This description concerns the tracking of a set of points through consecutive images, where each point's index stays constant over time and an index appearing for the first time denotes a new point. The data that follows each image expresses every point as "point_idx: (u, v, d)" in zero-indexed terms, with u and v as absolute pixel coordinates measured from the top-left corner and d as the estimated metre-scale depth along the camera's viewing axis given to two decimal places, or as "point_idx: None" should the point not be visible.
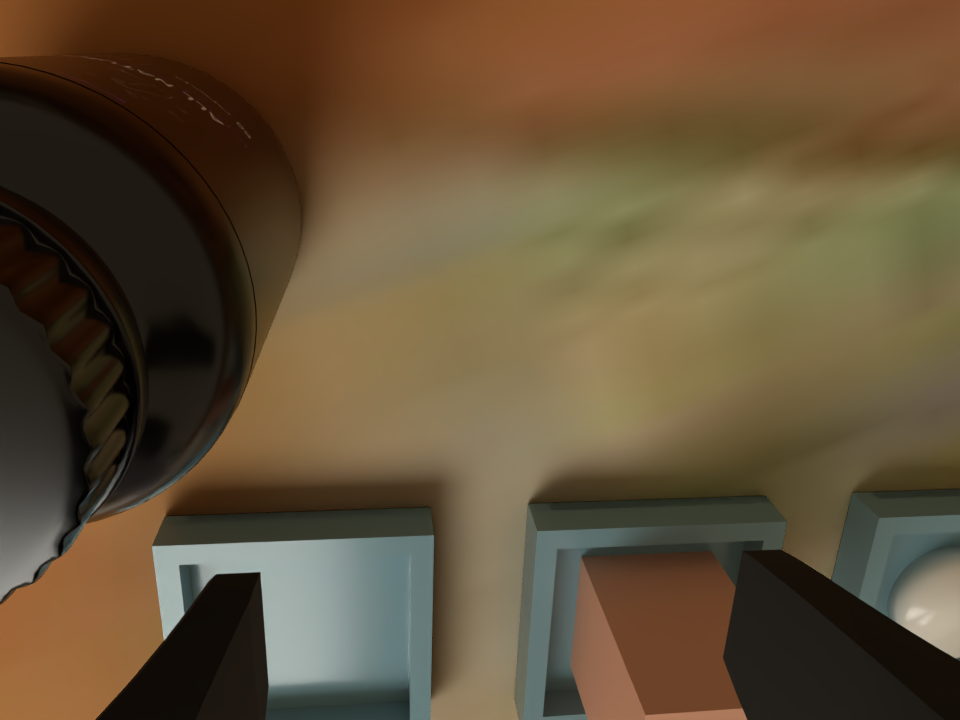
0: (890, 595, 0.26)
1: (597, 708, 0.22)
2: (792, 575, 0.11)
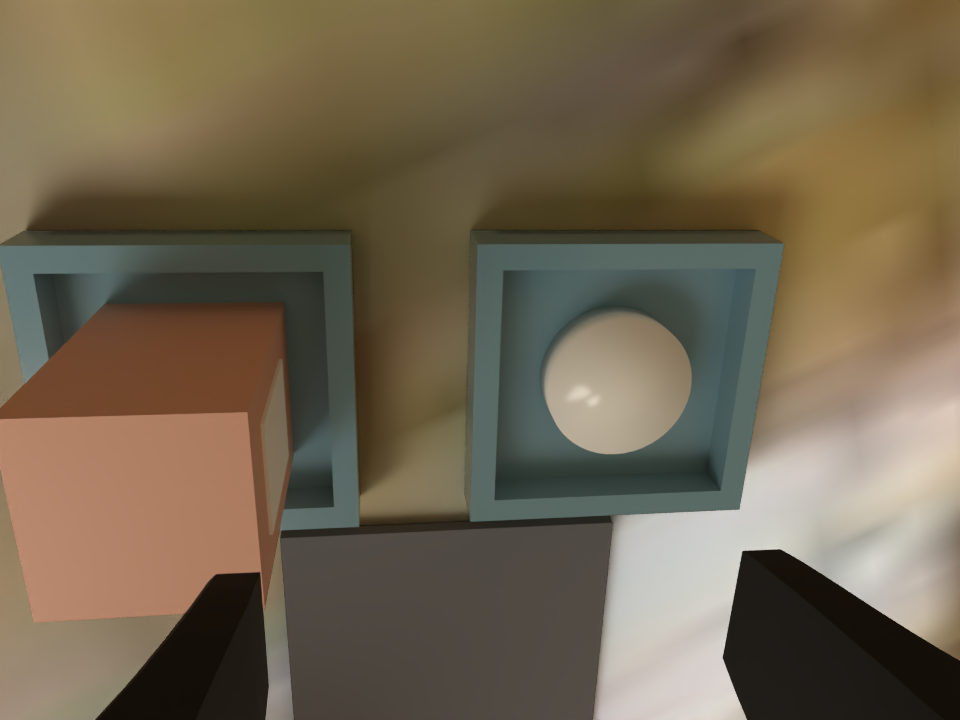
0: (540, 375, 0.20)
1: None
2: (792, 575, 0.11)
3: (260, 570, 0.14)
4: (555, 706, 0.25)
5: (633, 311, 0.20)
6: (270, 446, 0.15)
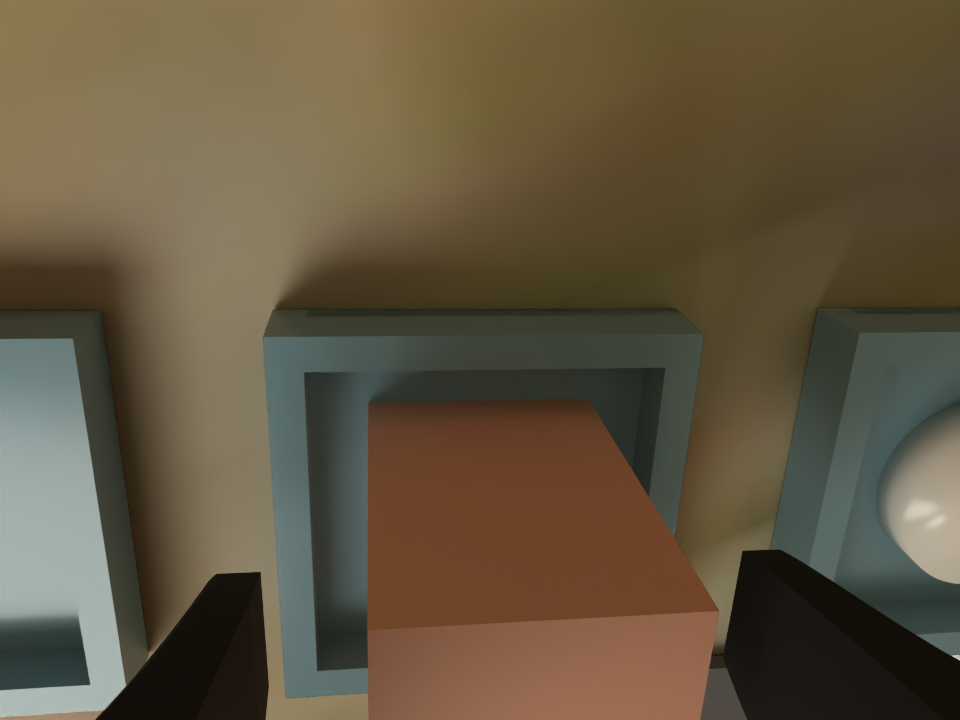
0: (879, 487, 0.16)
1: None
2: (792, 575, 0.11)
3: None
4: None
5: None
6: None
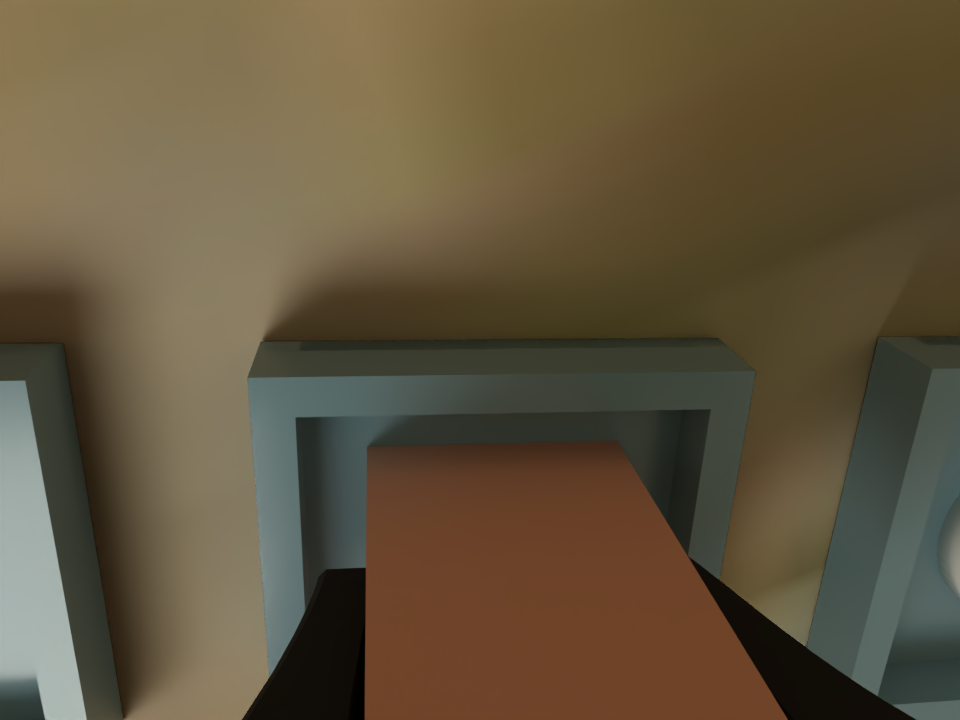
0: (941, 539, 0.15)
1: None
2: None
3: None
4: None
5: None
6: None
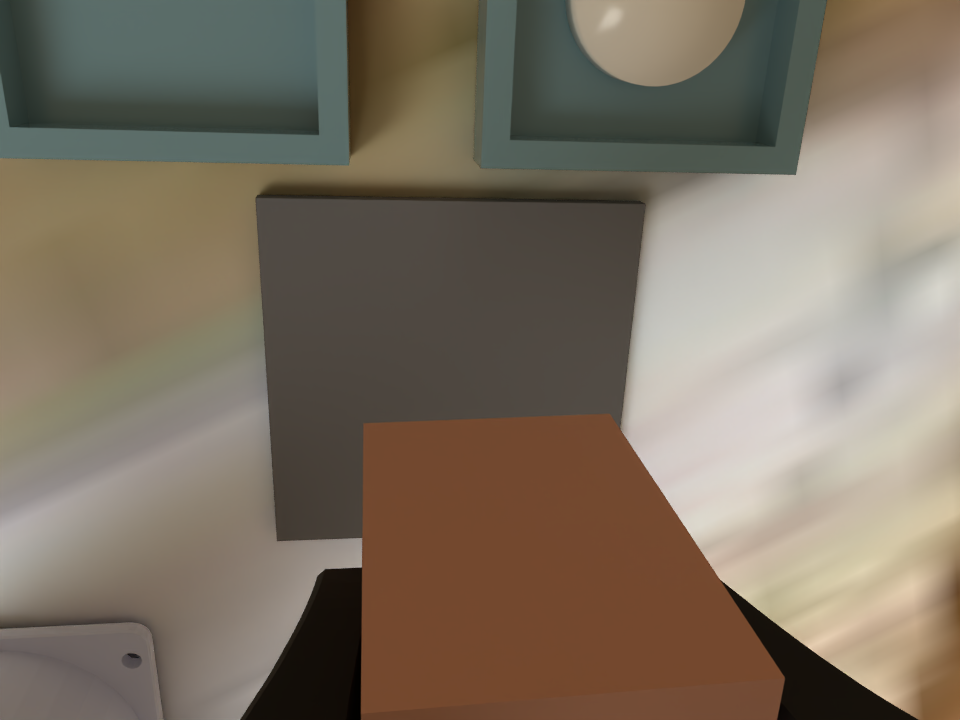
0: (566, 5, 0.17)
1: None
2: None
3: None
4: None
5: None
6: None
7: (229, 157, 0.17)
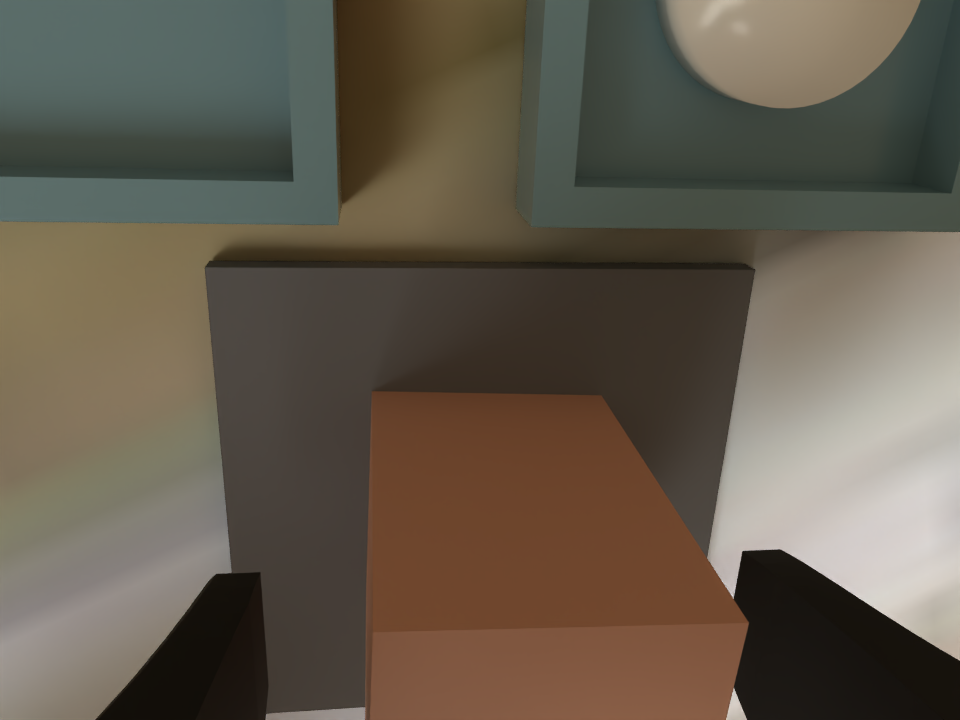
0: (658, 6, 0.12)
1: None
2: (792, 575, 0.11)
3: None
4: None
5: None
6: None
7: (159, 215, 0.11)
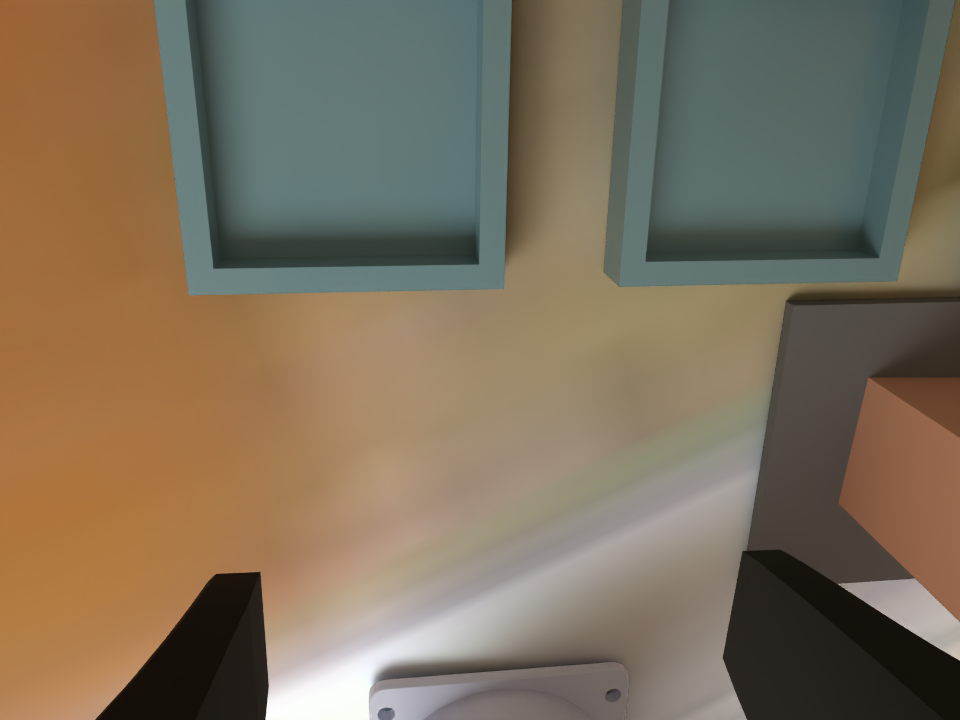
0: None
1: (907, 524, 0.21)
2: (792, 575, 0.11)
3: None
4: None
5: None
6: None
7: (807, 279, 0.20)
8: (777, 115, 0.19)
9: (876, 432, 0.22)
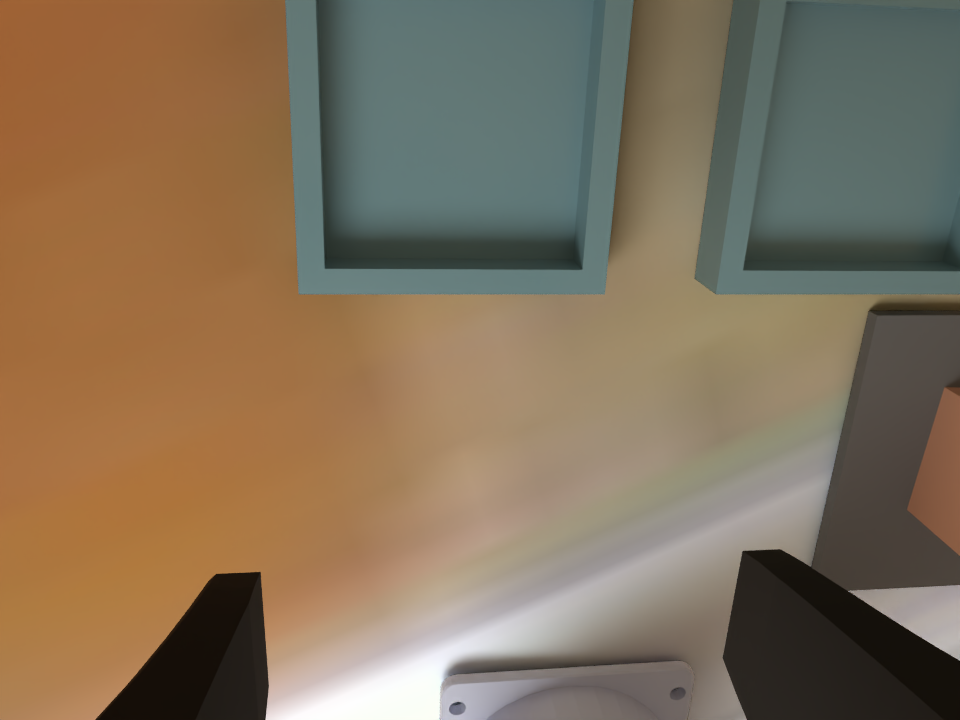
0: None
1: None
2: (792, 575, 0.11)
3: None
4: None
5: None
6: None
7: (898, 290, 0.20)
8: (874, 129, 0.20)
9: (952, 441, 0.22)
